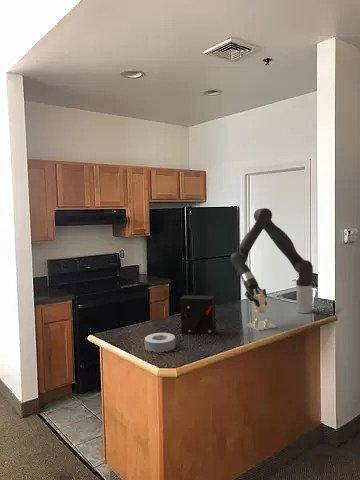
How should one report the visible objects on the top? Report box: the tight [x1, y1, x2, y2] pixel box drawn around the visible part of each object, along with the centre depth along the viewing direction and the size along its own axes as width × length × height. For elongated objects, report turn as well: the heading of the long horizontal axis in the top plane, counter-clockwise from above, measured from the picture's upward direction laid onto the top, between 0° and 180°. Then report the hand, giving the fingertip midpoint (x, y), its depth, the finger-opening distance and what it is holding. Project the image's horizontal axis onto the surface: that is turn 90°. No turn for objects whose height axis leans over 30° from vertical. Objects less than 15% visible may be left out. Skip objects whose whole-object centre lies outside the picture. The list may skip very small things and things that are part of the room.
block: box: [254, 294, 266, 314], centre depth 227 cm, size 4×4×10 cm
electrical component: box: [179, 294, 217, 336], centre depth 222 cm, size 18×10×20 cm, turn 71°
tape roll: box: [144, 332, 176, 353], centre depth 201 cm, size 15×15×5 cm
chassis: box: [245, 318, 277, 331], centre depth 228 cm, size 12×12×4 cm
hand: (262, 305), depth 225 cm, fingers closed on block, 4 cm apart
